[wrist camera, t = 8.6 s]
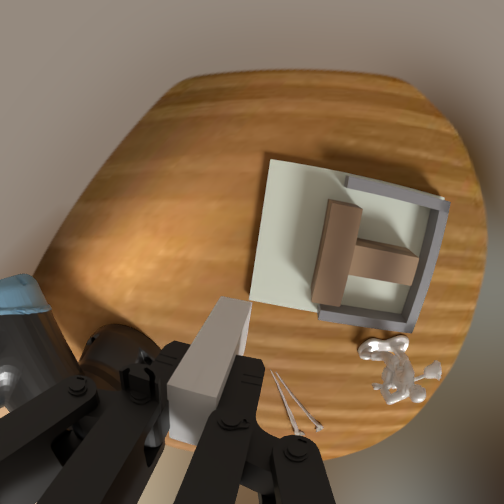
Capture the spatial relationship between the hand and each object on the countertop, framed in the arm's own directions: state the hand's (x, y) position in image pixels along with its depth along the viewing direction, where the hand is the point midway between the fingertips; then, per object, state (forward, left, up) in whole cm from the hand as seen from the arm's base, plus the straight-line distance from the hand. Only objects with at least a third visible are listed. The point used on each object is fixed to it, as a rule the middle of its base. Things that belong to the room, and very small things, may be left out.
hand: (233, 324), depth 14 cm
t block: (+10, 0, -19) cm, 22 cm away
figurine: (+18, -11, -21) cm, 29 cm away
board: (+9, 0, -20) cm, 22 cm away
